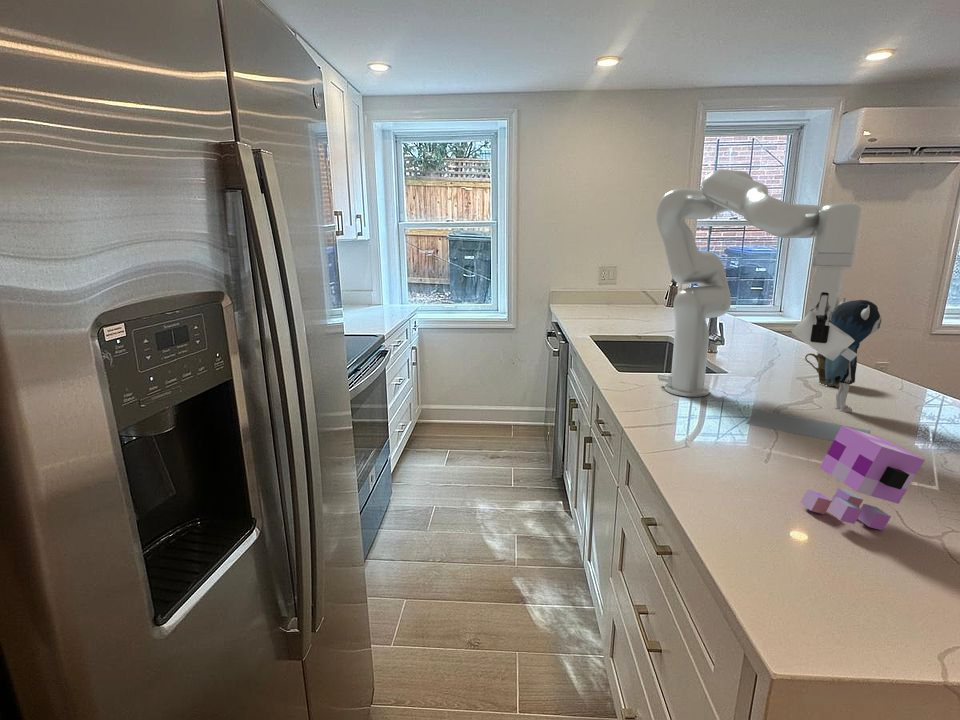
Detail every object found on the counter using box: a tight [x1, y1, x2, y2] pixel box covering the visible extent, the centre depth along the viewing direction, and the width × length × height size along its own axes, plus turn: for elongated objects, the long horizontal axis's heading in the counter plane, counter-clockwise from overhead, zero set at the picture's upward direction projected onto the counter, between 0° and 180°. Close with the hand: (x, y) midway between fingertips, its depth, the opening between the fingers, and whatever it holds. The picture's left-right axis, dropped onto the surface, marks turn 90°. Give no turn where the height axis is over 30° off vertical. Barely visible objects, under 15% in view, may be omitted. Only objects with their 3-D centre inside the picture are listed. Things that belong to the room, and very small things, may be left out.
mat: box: [746, 409, 870, 442], centre depth 123 cm, size 24×13×1 cm, turn 50°
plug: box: [791, 310, 858, 361], centre depth 117 cm, size 13×4×6 cm
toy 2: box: [800, 425, 925, 531], centre depth 82 cm, size 11×8×15 cm
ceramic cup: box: [804, 351, 840, 388], centre depth 159 cm, size 13×10×10 cm
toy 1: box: [824, 297, 883, 413], centre depth 131 cm, size 14×11×30 cm
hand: (819, 340), depth 117 cm, fingers closed on plug, 4 cm apart
